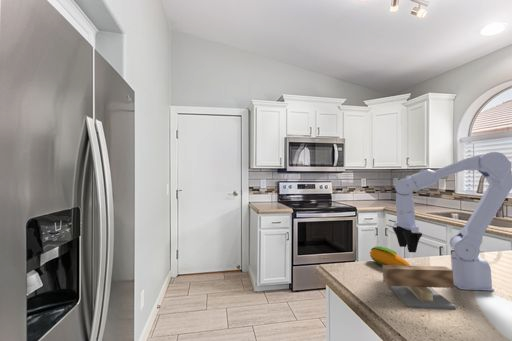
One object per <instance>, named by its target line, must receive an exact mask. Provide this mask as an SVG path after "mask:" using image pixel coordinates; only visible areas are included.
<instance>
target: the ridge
mask: <svg viewBox="0 0 512 341" xmlns="http://www.w3.org/2000/svg"><path fill="white" fill-rule="evenodd" d="M406 287H407V288H408V289H409V290H410V291H411V292H412V293H413V294H414V295H415V296H416V297H417V298H418V299H420V300H421V301H427V302H433V293H432V291H431V290H429V289H428V288H427V287H409V286H406Z"/></svg>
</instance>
